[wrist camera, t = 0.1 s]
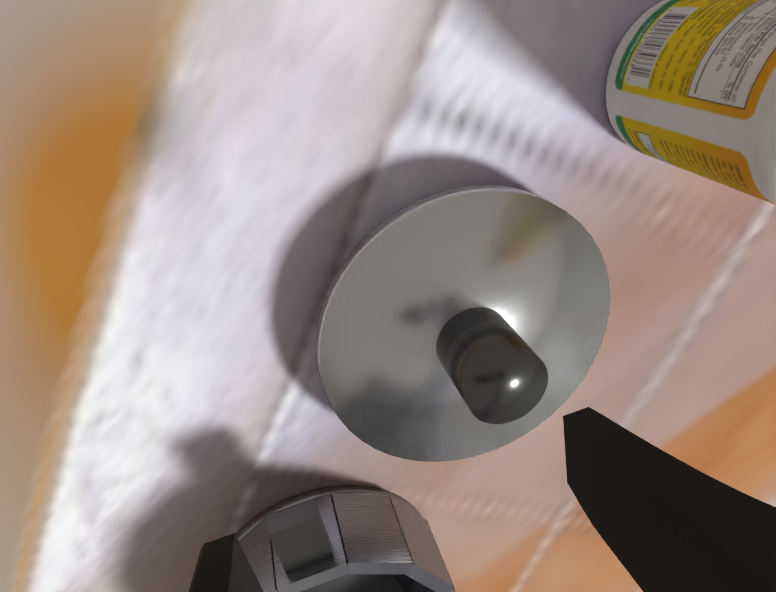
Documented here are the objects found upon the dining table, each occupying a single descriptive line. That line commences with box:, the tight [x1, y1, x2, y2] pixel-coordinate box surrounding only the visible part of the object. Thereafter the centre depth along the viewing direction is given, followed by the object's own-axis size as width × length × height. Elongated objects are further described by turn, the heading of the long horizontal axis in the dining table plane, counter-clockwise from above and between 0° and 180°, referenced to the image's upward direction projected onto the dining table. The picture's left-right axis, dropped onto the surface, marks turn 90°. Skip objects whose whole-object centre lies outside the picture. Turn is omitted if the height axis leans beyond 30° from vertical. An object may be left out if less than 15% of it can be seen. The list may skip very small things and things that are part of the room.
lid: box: [316, 185, 610, 462], centre depth 21 cm, size 11×11×5 cm
